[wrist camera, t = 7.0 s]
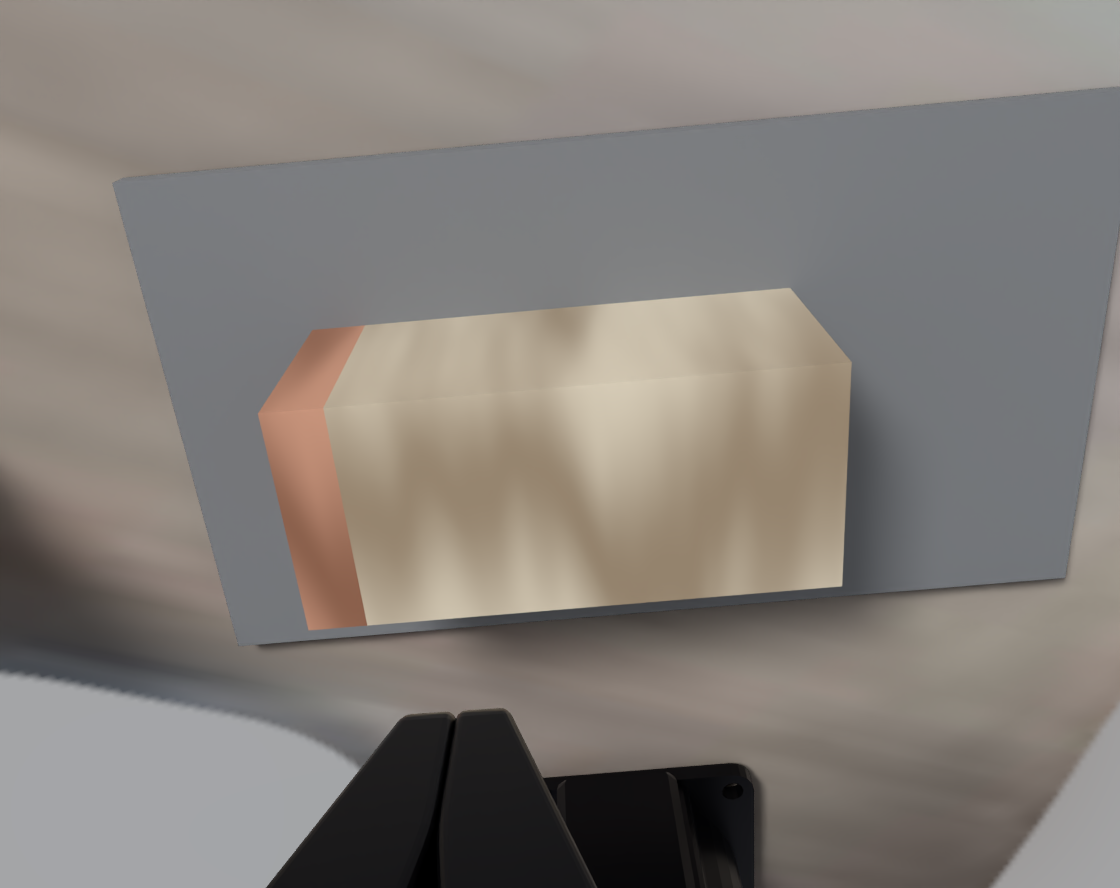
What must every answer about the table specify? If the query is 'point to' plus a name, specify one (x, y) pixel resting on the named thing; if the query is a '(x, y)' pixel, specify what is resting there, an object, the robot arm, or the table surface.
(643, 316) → the beech block
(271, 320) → the rubber mat
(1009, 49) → the table surface
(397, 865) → the robot arm
